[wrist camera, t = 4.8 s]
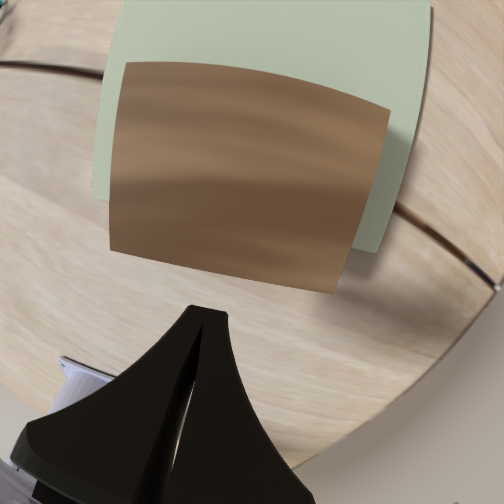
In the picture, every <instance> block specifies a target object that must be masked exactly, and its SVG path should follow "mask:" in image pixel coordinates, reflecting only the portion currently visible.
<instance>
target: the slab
mask: <svg viewBox="0 0 504 504" xmlns="http://www.w3.org/2000/svg"><path fill="white" fill-rule="evenodd" d="M390 113H391V110H389V109H387V108H384V107H382V106H380V105H377V104H375V103H372V102H369V101H367V100H364V99H362V98H359V97H356V96H353V95H350V94H347V93H345V92H342V91H338V90H335V89H332V88H329V87H326V86H322V85H319V84H315V83H312V82H308V81H304V80H300V79H296V78H292V77H288V76H283V75H279V74H274V73H269V72H264V71H258V70H252V69H246V68H240V67H232V66H224V65H215V64H205V63H191V62H126V65H125V70H124V74H123V79H122V84H121V89H120V95H119V101H118V107H117V113H116V120H115V128H114V137H113V146H112V158H111V172H110V196H109V233H110V250H111V251H116V252H120V253H124V254H129V255H133V256H138V257H142V258H146V259H151V260H156V261H160V262H165V263H169V264H174V265H179V266H184V267H188V268H193V269H198V270H203V271H208V272H213V273H218V274H223V275H228V276H233V277H238V278H243V279H249V280H254V281H259V282H265V283H270V284H276V285H281V286H287V287H292V288H298V289H304V290H309V291H315V292H321V293H327V294H333V293H334V290H335V288H336V285H337V283H338V280H339V278H340V275H341V273H342V270H343V268H344V265H345V263H346V260H347V257H348V255H349V252H350V249H351V247H352V244H353V241H354V238H355V235H356V233H357V230H358V227H359V224H360V221H361V218H362V215H363V212H364V209H365V206H366V203H367V200H368V196H369V193H370V190H371V187H372V183H373V180H374V176H375V173H376V169H377V166H378V162H379V158H380V155H381V151H382V147H383V143H384V139H385V135H386V131H387V126H388V122H389V118H390Z"/></svg>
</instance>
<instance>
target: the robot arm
mask: <svg viewBox="0 0 504 504" xmlns="http://www.w3.org/2000/svg"><path fill="white" fill-rule="evenodd" d="M58 361H59V363H60V366H61V368H62V370H63V372H64V374H65V376H66V380H65V382H64V383H63V385H62V387H61V389H60V390H59V392H58V394H57V396H56V398H55V399H54V401H53V403H52V405H51V407H50V409H49V411H48V413H47V414H46V416H44V417H41V418H39V419H36V420H33V421H31V422H28V423H27V424H26V426H25V428H24V429H23V430H22V432H21V434H20V436H19V437H18V439H17V440H16V442H15V444H14V446H13V448H12V450H11V452H10V455H9V457H8V460H7V462H4V461H3V460H2V459H1V458H0V504H316V503H315V501H314V498H313V495H312V493H311V492H310V491H309V490H308V489H307V488H306V487H305V486H304V485H303V483H302V482H301V481H300V480H299V479H298V478H297V476H296V475H295V474H294V473H293V471H292V470H291V469H290V468H289V466H288V465H287V464H286V462H285V461H284V460H283V458H282V457H281V455H280V454H279V453H278V451H277V450H276V448H275V446H274V445H273V443H272V442H271V440H270V438H269V437H268V435H267V434H266V432H265V430H264V429H263V427H262V425H261V423H260V421H259V419H258V417H257V416H256V414H255V412H254V410H253V407H252V405H251V403H250V401H249V399H248V396H247V394H246V392H245V389H244V386H243V384H242V381H241V378H240V375H239V372H238V369H237V366H236V362H235V358H234V355H233V351H232V346H231V342H230V336H229V328H228V314H227V313H226V312H225V311H219V310H214V309H209V308H205V307H200V306H195V305H189V306H187V308H186V309H185V311H184V312H183V313H182V315H181V316H180V317H179V318H178V320H177V321H176V322H175V323H174V324H173V325H172V327H171V328H170V329H169V330H168V331H167V332H166V333H165V334H164V335H163V336H162V337H161V338H160V339H159V341H158V342H157V343H156V344H155V345H154V346H152V347H151V348H150V349H149V350H148V351H147V352H146V353H145V354H144V355H143V356H142V357H141V358H140V359H138V360H137V361H136V362H135V363H134V364H132V365H131V366H130V367H129V368H128V369H126V370H125V371H124V372H122V373H121V374H120V375H118V376H117V377H116V378H114V377H111V376H108V375H105V374H103V373H100V372H97V371H95V370H92V369H90V368H87V367H85V366H82V365H80V364H77V363H75V362H73V361H71V360H68V359H66V358H64V357H61V356H60V357H59V358H58ZM194 383H195V384H194ZM193 386H194V387H193ZM192 389H193V391H192ZM191 392H192V395H191ZM190 395H191V399H190V403H189V407H188V411H187V415H186V419H185V422H184V426H183V430H182V434H181V438H180V442H179V445H178V449H177V453H176V457H175V461H174V464H173V460H174V455H175V449H176V444H177V439H178V434H179V430H180V426H181V423H182V419H183V416H184V413H185V410H186V407H187V404H188V401H189V398H190ZM172 466H173V468H172ZM171 471H172V472H171ZM453 504H459V503H458V502H455V503H453Z"/></svg>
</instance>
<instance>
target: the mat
mask: <svg viewBox="0 0 504 504" xmlns="http://www.w3.org/2000/svg"><path fill="white" fill-rule="evenodd" d="M430 4H431V2H430V1H429V0H125V3H124V5H123V8H122V11H121V14H120V17H119V20H118V23H117V26H116V29H115V33H114V36H113V40H112V43H111V47H110V51H109V55H108V59H107V63H106V67H105V72H104V77H103V82H102V87H101V93H100V99H99V105H98V112H97V119H96V128H95V137H94V149H93V164H92V198H94V199H100V200H106V201H109V196H110V172H111V158H112V146H113V137H114V128H115V120H116V113H117V107H118V101H119V95H120V89H121V84H122V79H123V74H124V70H125V65H126V62H191V63H205V64H215V65H224V66H232V67H240V68H246V69H252V70H258V71H264V72H269V73H274V74H279V75H283V76H288V77H292V78H296V79H300V80H304V81H308V82H312V83H315V84H319V85H322V86H326V87H329V88H332V89H335V90H338V91H342V92H345V93H347V94H350V95H353V96H356V97H359V98H362V99H364V100H367V101H369V102H372V103H375V104H377V105H380V106H382V107H384V108H387V109H389V110H391V113H390V118H389V122H388V126H387V131H386V135H385V139H384V143H383V147H382V151H381V155H380V158H379V162H378V166H377V169H376V173H375V176H374V180H373V183H372V187H371V190H370V193H369V196H368V200H367V203H366V206H365V209H364V212H363V215H362V218H361V221H360V224H359V227H358V230H357V233H356V235H355V238H354V241H353V244H352V247H351V248H354V249H358V250H362V251H367V252H371V253H375V254H377V251H378V249H379V246H380V243H381V241H382V238H383V236H384V233H385V230H386V227H387V225H388V222H389V219H390V216H391V213H392V210H393V208H394V205H395V202H396V198H397V195H398V192H399V189H400V186H401V182H402V179H403V176H404V172H405V169H406V165H407V161H408V158H409V154H410V150H411V146H412V142H413V138H414V134H415V129H416V125H417V120H418V115H419V110H420V105H421V99H422V94H423V87H424V81H425V74H426V66H427V57H428V47H429V34H430Z"/></svg>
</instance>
